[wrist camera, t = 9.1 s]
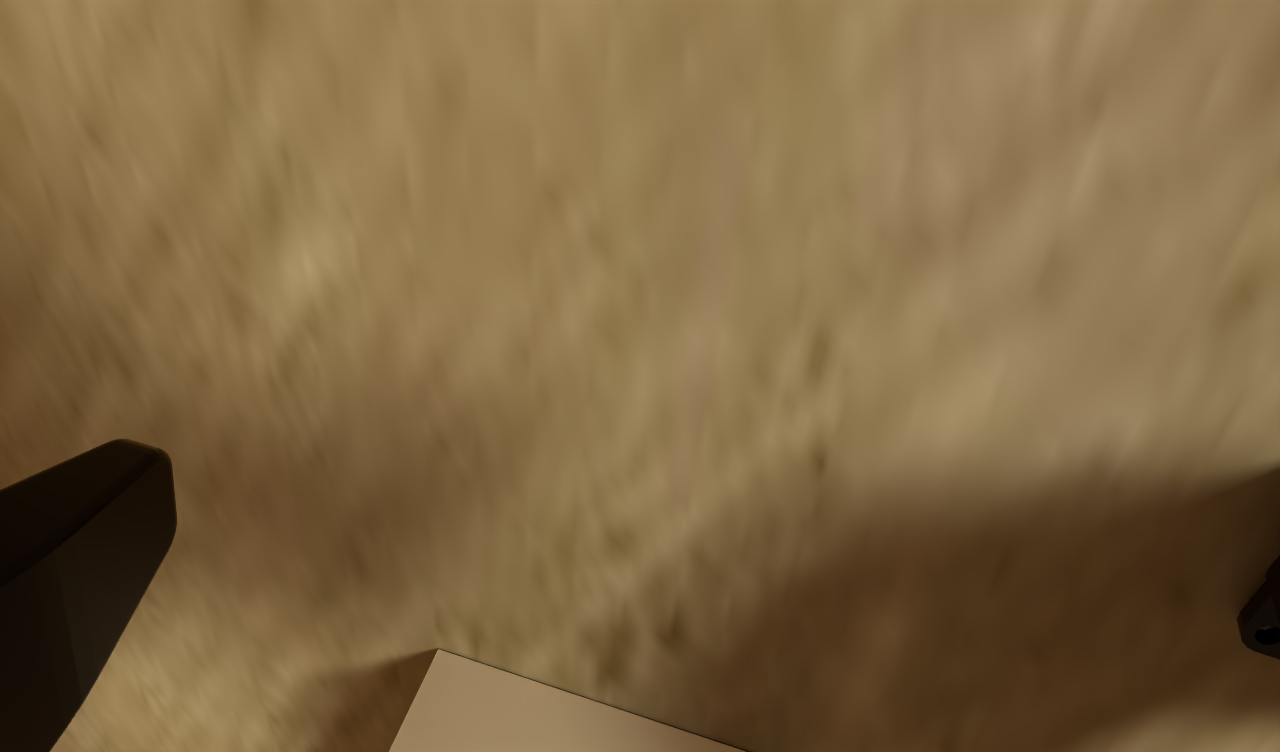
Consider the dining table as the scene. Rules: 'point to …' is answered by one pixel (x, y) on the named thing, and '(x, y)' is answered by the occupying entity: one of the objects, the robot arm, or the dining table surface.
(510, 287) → the dining table surface
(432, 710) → the display pedestal
